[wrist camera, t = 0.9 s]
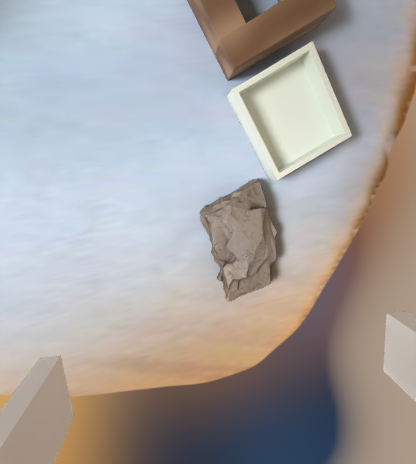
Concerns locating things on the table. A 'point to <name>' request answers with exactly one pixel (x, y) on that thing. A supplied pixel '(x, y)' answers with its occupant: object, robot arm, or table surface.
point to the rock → (241, 239)
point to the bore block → (255, 29)
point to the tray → (290, 112)
